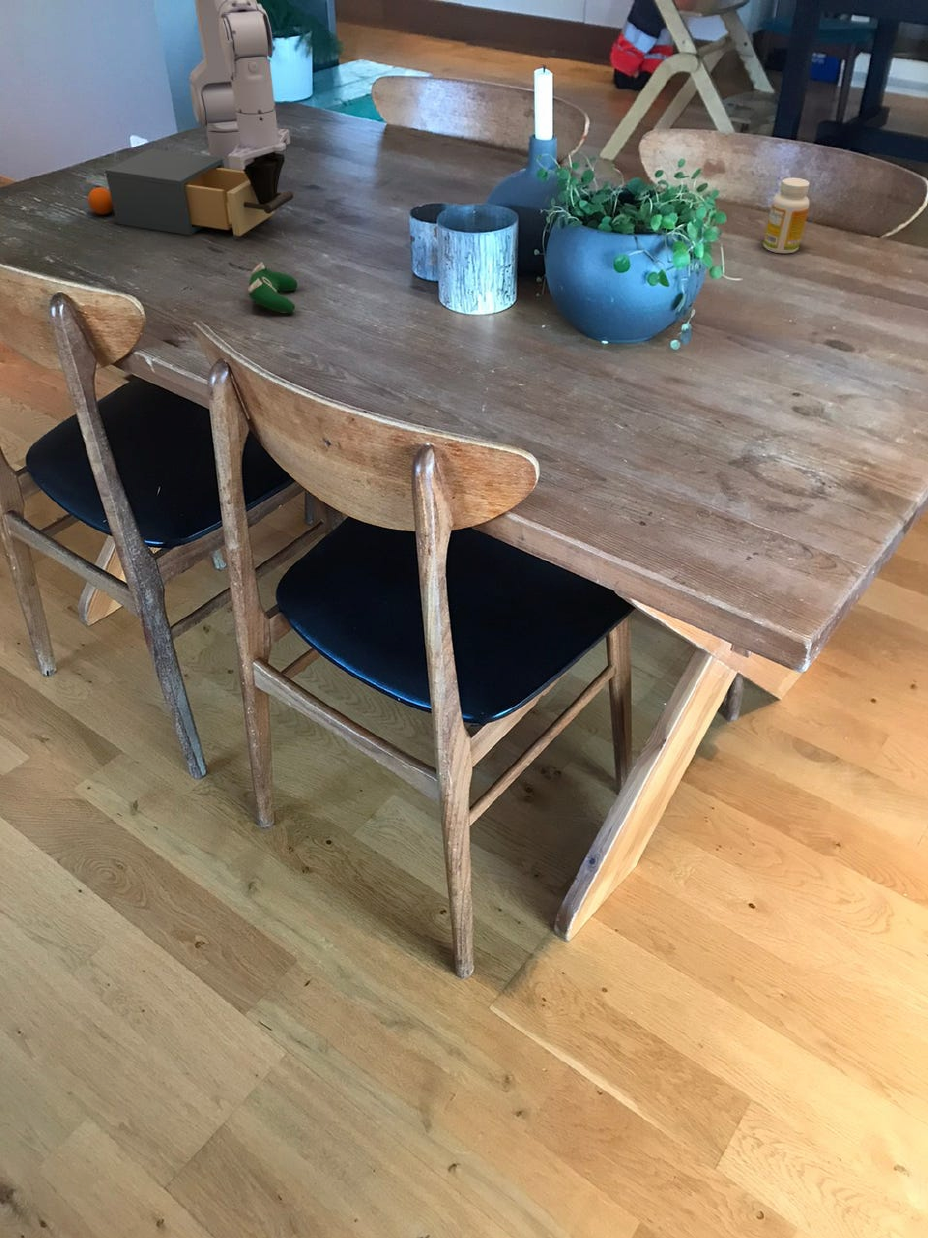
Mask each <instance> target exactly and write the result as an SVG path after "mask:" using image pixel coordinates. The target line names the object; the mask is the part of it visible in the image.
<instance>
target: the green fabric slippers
mask: <svg viewBox="0 0 928 1238" xmlns="http://www.w3.org/2000/svg"><path fill="white" fill-rule="evenodd" d="M297 288H298V281H296V279H295V278H294V277H293V276H291V274H290V275H289V274H287V273H283V272H280V271H276V270H275V271H274V270H271V269H269V268H267V267H266V266H265V265H264V263H263V262H261V261H260V263H259V264H257V265H256V267H254V268H253V270H252V271H251V276H250V279H249V285H248V288H247V289H248V290H247V292H248V295H249V297H250V298H251V299H252V300H253V302H254V303H255V304H256V305H259V306H261V307H263V308H265V309H268V310H271V311H274V312H277V313H282V314H288V315H289V314H290V315H291V314H293V312H294V310H295V308H296V306H295V305H296V304H294V303H293V301H292V300H290V299H289V298H288V297H286V296H285V295H282V294H281V293H278V292H292V291H293V292H294V291H296V290H297Z"/></svg>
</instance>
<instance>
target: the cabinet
mask: <svg viewBox="0 0 928 1238" xmlns="http://www.w3.org/2000/svg"><path fill="white" fill-rule="evenodd" d="M216 167H217V168H224V164H223V158H217V157H210V155H209V156H208V155H203V154H196V153H195V154H194V153H186V152H182V151H181V152H180V151H172V150H165V149H158V148H149V149H146V150H144V151H143V152H140V153H138V154H136V155H134V156H132V157H129V158H127V159H126V160H123V161H121V162H119V163H117V164H115V165H113V166H111V167H108V168H106V169H105V170H104V173H105V175H106V176H105V177H106V180H107V185H108V191H109V192H110V194H111V198H112V202H113V206H114V209H113V211H114V214H115V215H114V216H115V218H116V223H117V224H118V225H123V226H129V227H136V228H141V229H142V228H143V229H148V230H154V231H159V232H161V231H162V232H167V233H173V234H180V235H186V236H192V235H194V234H195V233H197V232H199V231H201V230H202V229H203V228H205V226H198V225H192V224H191V219H190V214H189V209H188V203H187V198H186V192H185V187H184V185H185V184H186V183H188V182H190V181H192V180H194V179H196V178H197V177H199V176H201V175H203V174H205V173H207V172H208V171H210V170H212V169H214V168H216Z"/></svg>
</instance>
